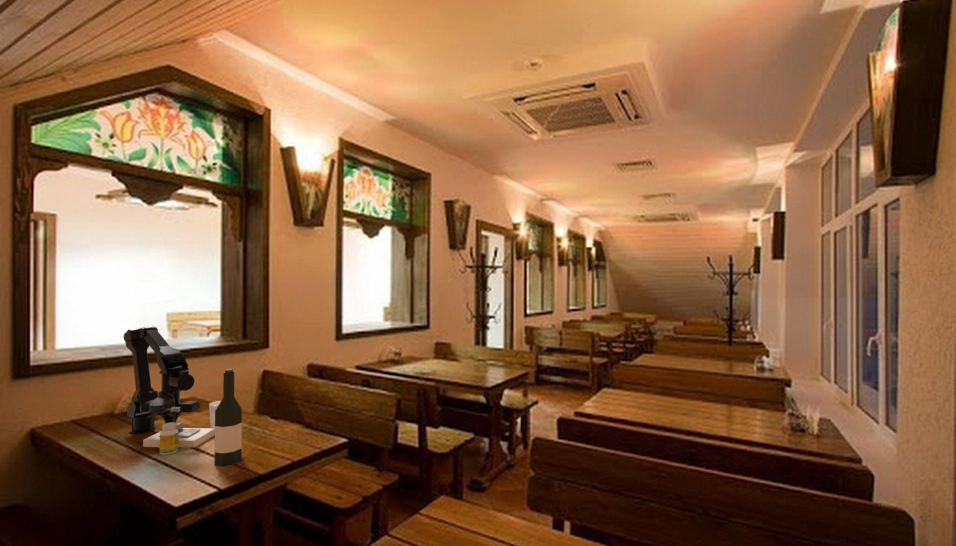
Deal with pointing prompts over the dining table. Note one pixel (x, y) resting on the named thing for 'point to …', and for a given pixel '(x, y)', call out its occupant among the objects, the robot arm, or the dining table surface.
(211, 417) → the white cup
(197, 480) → the dining table surface
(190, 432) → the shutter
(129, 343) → the robot arm
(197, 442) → the socket board
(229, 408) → the wine bottle
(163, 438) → the supplement bottle
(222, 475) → the dining table surface
